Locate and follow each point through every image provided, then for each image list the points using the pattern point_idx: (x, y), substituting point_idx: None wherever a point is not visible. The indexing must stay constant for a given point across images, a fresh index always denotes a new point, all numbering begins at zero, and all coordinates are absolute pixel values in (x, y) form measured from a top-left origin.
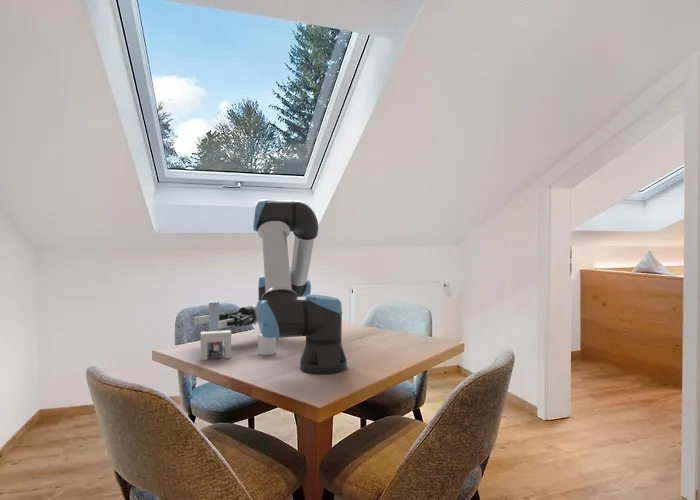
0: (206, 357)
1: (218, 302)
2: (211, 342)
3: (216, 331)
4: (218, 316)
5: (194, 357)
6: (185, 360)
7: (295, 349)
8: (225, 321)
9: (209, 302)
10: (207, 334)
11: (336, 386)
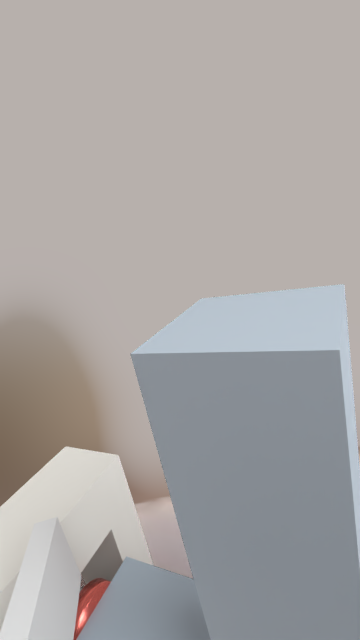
0: (85, 575)
1: (140, 354)
2: (107, 580)
3: (27, 535)
4: (196, 558)
5: (183, 550)
6: (163, 504)
7: None
8: (11, 624)
9: (202, 299)
10: (40, 476)
11: None
